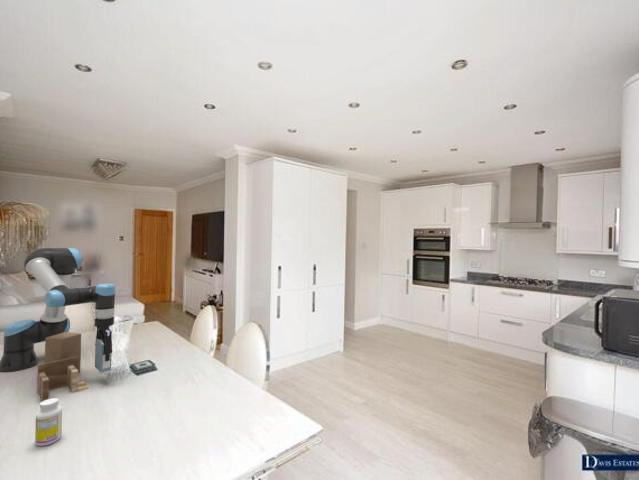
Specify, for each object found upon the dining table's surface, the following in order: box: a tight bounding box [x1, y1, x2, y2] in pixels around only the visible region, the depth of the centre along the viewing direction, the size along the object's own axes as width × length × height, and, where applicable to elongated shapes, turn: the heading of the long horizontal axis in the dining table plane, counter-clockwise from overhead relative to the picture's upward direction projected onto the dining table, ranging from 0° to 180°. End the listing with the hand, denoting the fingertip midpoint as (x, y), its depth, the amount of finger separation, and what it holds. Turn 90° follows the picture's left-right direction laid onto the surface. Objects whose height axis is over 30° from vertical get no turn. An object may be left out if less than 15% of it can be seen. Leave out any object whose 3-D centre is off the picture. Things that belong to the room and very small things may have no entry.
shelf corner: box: [36, 356, 78, 402], centre depth 137 cm, size 15×14×12 cm
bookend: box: [66, 365, 90, 394], centre depth 142 cm, size 10×6×9 cm, turn 49°
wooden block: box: [44, 331, 82, 375], centre depth 154 cm, size 10×10×20 cm
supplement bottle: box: [34, 397, 63, 447], centre depth 104 cm, size 7×7×13 cm
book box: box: [94, 338, 113, 374], centre depth 147 cm, size 10×4×13 cm, turn 49°
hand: (102, 364), depth 147 cm, fingers closed on book box, 10 cm apart
